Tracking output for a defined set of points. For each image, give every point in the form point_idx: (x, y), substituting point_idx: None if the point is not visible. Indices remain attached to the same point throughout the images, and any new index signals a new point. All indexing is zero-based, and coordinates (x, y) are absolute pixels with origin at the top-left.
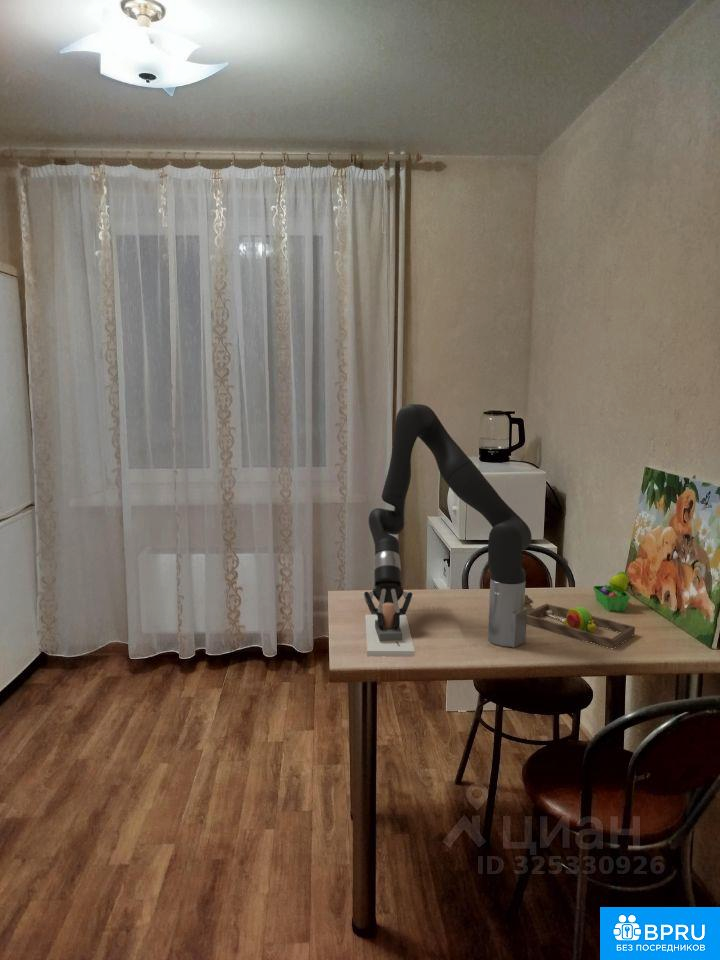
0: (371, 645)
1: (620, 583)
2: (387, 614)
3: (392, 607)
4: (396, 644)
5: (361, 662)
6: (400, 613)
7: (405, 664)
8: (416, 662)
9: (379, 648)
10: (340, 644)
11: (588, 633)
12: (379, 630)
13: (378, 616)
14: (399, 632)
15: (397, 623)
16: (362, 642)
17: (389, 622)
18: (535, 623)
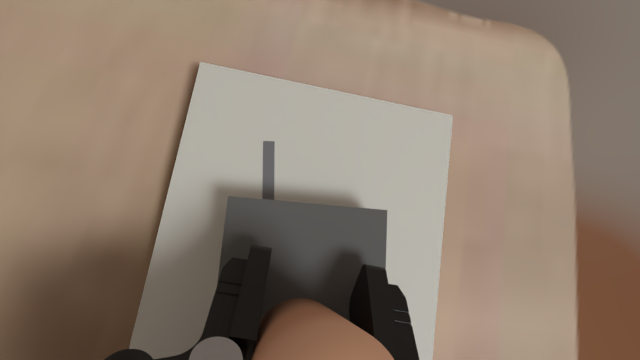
0: (423, 179)
1: None
2: (337, 315)
3: (290, 331)
4: (278, 167)
5: (471, 71)
6: (183, 357)
7: (275, 8)
8: (215, 16)
9: (386, 132)
10: (559, 299)
11: None
12: None
13: (410, 350)
14: (244, 212)
15: (243, 267)
16: (444, 311)
17: (306, 302)
18: None
